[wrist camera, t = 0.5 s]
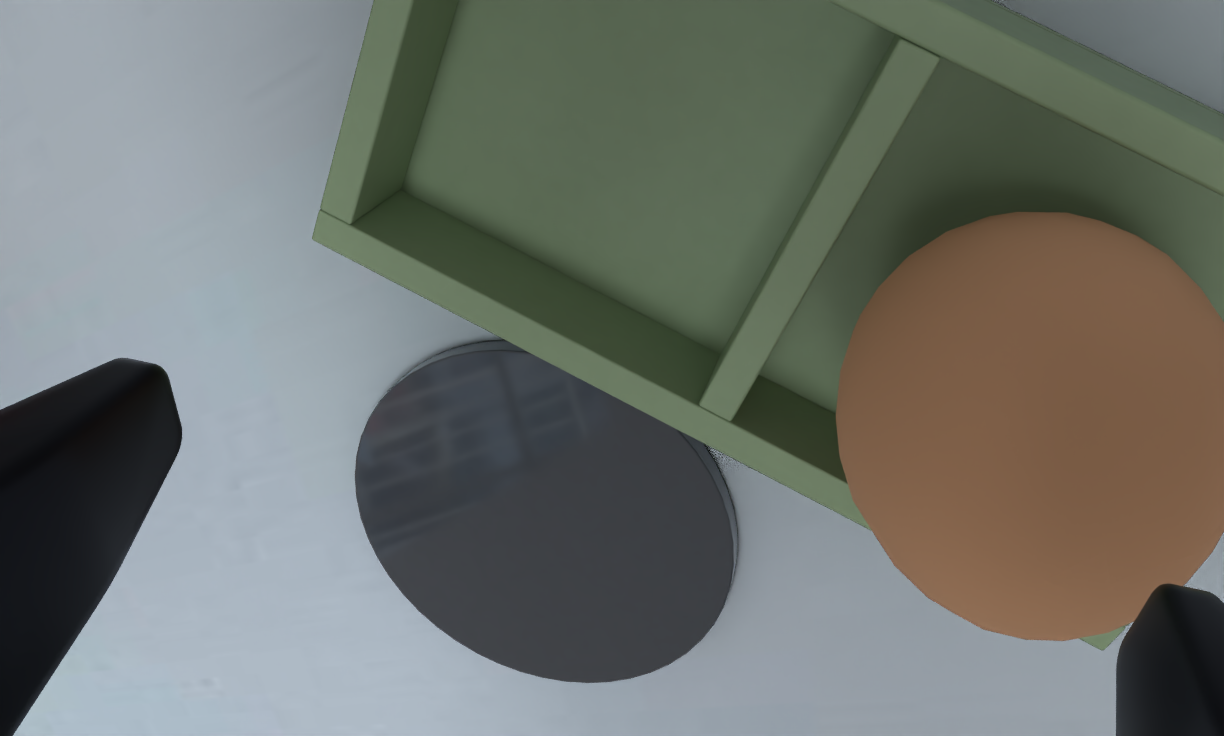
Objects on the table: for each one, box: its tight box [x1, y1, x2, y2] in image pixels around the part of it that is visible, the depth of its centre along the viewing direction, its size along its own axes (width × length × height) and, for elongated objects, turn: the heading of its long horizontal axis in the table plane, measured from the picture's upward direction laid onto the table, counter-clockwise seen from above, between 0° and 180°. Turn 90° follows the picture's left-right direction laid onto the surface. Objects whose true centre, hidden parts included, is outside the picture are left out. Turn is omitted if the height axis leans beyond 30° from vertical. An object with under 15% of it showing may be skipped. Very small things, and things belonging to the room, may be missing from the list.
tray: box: [312, 0, 1224, 650], centre depth 22 cm, size 10×19×3 cm, turn 68°
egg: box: [836, 212, 1224, 641], centre depth 18 cm, size 7×7×9 cm
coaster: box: [355, 341, 738, 683], centre depth 29 cm, size 11×11×1 cm
